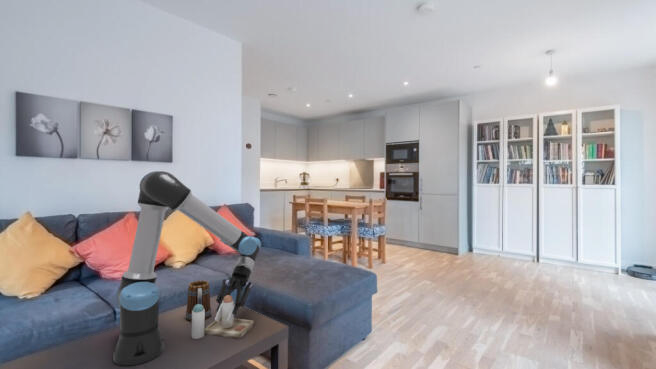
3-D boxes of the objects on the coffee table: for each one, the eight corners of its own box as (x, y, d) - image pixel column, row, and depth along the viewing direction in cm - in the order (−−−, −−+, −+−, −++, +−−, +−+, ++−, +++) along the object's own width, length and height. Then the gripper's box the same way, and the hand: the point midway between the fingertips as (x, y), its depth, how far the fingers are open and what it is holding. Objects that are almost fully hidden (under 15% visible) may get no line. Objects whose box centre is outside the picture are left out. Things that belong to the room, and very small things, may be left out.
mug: (185, 313, 142) (185, 281, 142) (210, 310, 147) (210, 278, 146) (185, 329, 128) (186, 292, 128) (213, 324, 132) (213, 289, 132)
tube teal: (189, 338, 121) (189, 306, 121) (196, 332, 125) (197, 301, 125) (199, 339, 120) (199, 307, 120) (206, 333, 124) (207, 302, 124)
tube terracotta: (219, 327, 127) (219, 296, 127) (225, 322, 131) (226, 292, 131) (229, 328, 126) (230, 297, 126) (235, 323, 130) (236, 293, 130)
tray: (203, 333, 124) (203, 329, 124) (220, 320, 136) (220, 316, 136) (240, 338, 121) (240, 334, 121) (254, 324, 132) (254, 320, 132)
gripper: (264, 274, 141) (246, 327, 125) (228, 271, 145) (206, 322, 129) (259, 266, 136) (239, 320, 120) (222, 263, 140) (199, 315, 124)
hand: (222, 321), depth 125 cm, fingers closed on tube terracotta, 5 cm apart
